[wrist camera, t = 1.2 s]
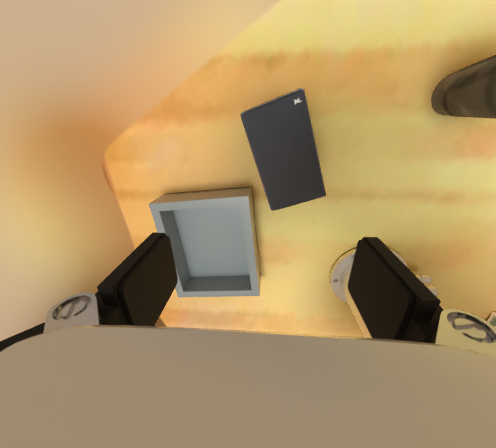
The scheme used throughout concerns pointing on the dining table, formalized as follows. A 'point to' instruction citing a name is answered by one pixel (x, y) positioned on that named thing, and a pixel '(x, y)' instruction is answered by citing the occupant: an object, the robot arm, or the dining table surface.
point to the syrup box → (492, 319)
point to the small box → (285, 150)
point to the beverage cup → (468, 91)
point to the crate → (211, 241)
